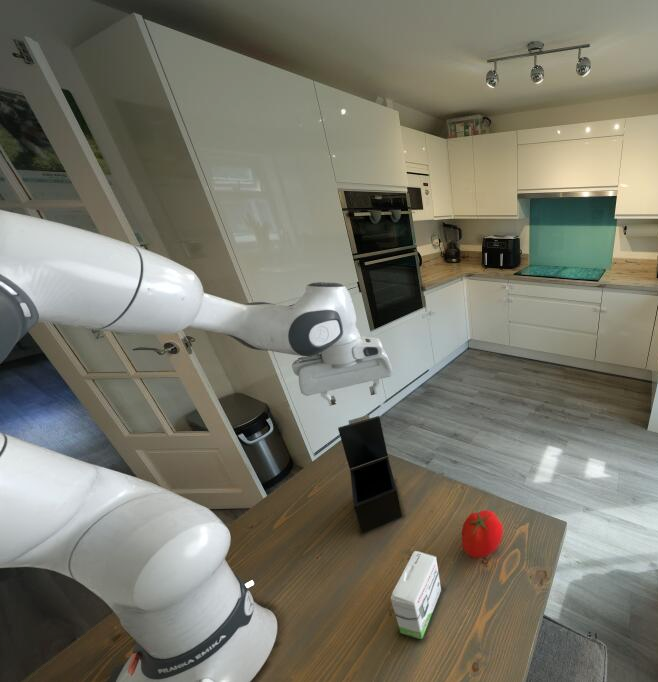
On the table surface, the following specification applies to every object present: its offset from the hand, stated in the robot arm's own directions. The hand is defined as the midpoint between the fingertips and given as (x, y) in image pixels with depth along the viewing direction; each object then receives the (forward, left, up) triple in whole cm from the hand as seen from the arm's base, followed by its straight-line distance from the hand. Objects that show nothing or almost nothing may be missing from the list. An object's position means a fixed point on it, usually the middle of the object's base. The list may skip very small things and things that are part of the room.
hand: (353, 398), depth 79 cm
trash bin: (0, -9, -29) cm, 30 cm away
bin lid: (0, -4, -12) cm, 12 cm away
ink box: (+4, -38, -29) cm, 48 cm away
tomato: (+20, -32, -29) cm, 48 cm away
